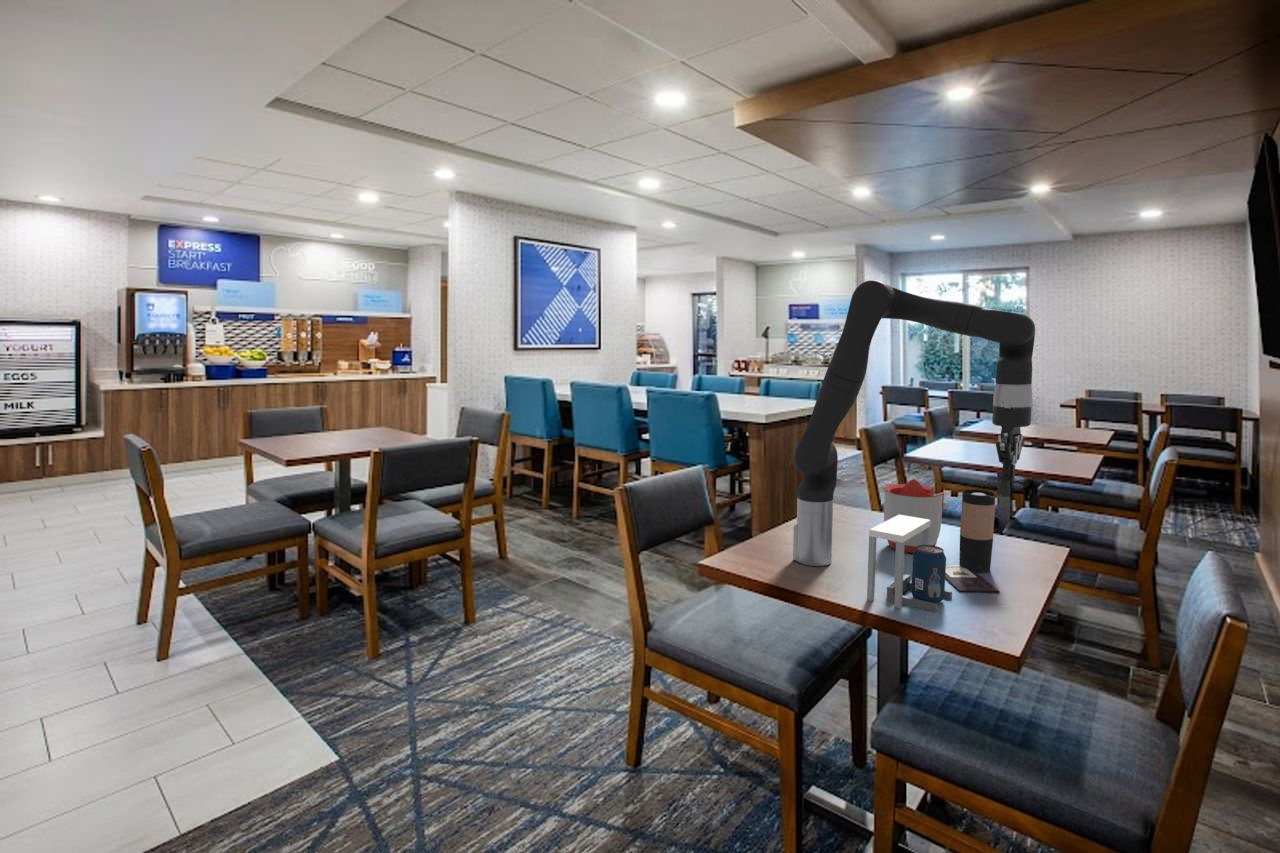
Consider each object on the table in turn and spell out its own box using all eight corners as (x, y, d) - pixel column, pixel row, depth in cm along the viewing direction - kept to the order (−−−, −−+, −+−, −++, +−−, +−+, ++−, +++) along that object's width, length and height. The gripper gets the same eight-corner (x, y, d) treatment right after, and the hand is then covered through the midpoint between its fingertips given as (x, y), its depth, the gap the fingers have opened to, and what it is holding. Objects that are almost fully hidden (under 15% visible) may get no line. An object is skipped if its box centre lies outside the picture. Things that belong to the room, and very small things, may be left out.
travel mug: (954, 562, 175) (958, 488, 173) (986, 564, 174) (990, 489, 171) (962, 572, 168) (966, 495, 166) (995, 574, 167) (1000, 496, 164)
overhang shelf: (866, 599, 151) (869, 529, 149) (896, 579, 163) (898, 514, 161) (930, 616, 141) (933, 541, 139) (956, 593, 154) (959, 524, 152)
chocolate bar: (959, 590, 155) (931, 564, 172) (959, 594, 155) (931, 568, 173) (999, 591, 154) (967, 565, 172) (999, 594, 154) (967, 568, 172)
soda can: (923, 591, 155) (925, 542, 154) (950, 601, 150) (953, 549, 148) (904, 597, 152) (906, 547, 150) (931, 607, 146) (934, 555, 144)
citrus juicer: (958, 556, 181) (961, 484, 178) (895, 557, 180) (898, 485, 178) (930, 539, 196) (933, 473, 194) (873, 540, 196) (875, 474, 193)
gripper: (1002, 401, 155) (998, 474, 157) (984, 405, 145) (981, 483, 147) (1038, 402, 150) (1034, 478, 152) (1023, 407, 140) (1018, 487, 142)
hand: (1008, 480), depth 149 cm, fingers closed
